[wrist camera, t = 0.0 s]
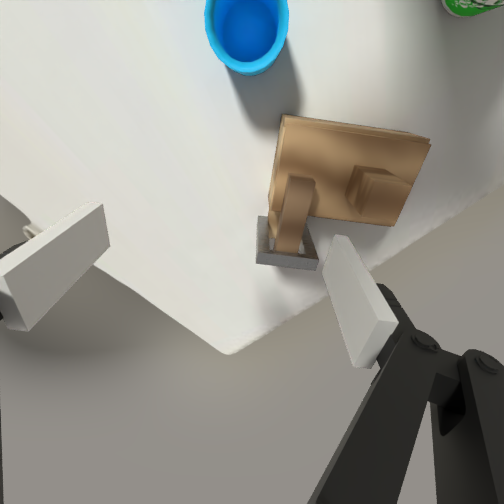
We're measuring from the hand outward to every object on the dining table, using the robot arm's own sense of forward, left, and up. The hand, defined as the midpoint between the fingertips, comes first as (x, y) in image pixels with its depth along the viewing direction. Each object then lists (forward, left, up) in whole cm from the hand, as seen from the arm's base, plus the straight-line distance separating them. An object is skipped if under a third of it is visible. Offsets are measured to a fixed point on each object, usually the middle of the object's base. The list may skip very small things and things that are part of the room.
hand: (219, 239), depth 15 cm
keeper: (+11, +8, -28) cm, 31 cm away
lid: (+1, +14, -22) cm, 26 cm away
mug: (-14, -2, -28) cm, 32 cm away
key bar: (+7, +8, -21) cm, 23 cm away
